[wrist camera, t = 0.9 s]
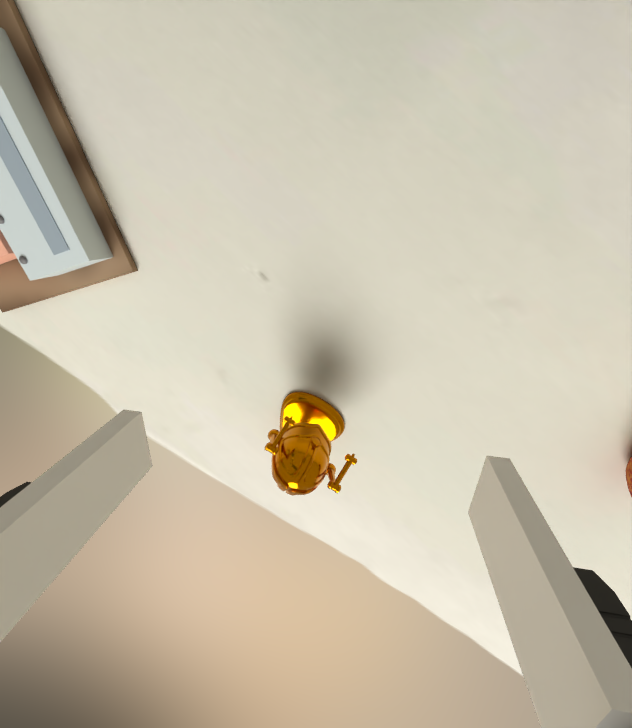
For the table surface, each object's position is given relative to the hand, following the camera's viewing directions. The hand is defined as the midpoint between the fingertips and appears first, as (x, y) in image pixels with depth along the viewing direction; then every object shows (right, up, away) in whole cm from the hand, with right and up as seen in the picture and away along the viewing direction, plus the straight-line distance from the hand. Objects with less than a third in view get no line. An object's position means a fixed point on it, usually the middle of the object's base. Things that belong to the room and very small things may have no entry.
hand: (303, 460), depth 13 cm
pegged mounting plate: (-28, +24, +22) cm, 43 cm away
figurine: (0, -4, +30) cm, 30 cm away
